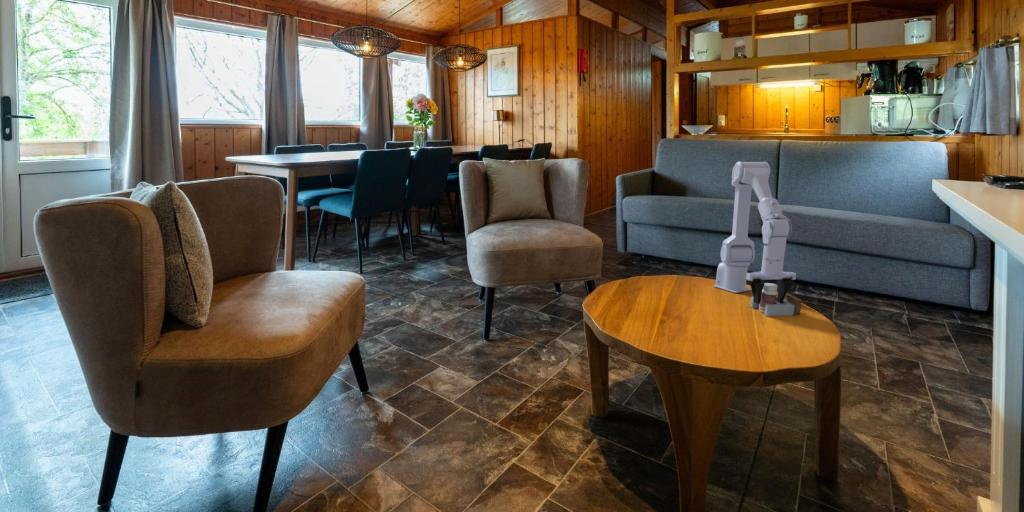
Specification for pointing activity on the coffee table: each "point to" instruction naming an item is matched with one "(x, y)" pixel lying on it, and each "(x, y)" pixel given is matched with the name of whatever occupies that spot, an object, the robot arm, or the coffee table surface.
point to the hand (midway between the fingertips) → (768, 302)
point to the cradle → (776, 308)
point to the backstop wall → (794, 301)
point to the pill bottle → (768, 295)
